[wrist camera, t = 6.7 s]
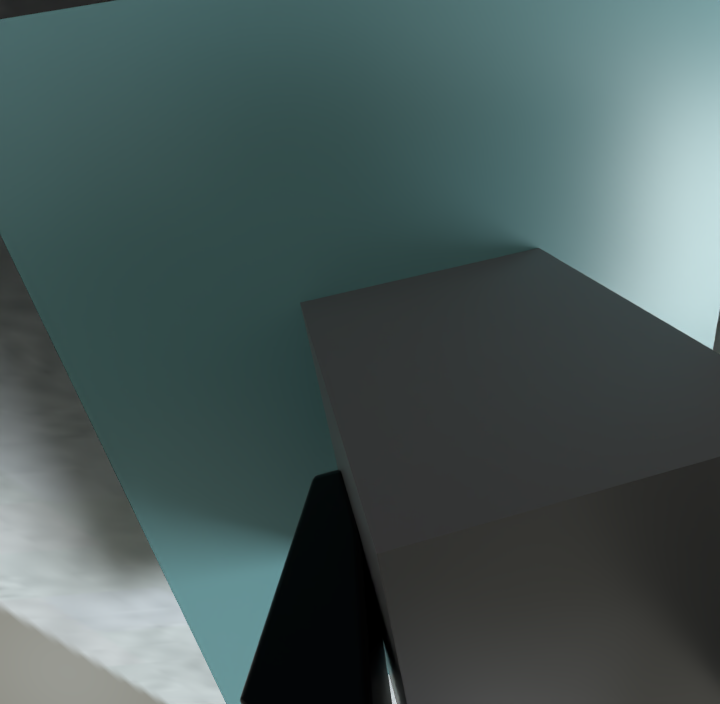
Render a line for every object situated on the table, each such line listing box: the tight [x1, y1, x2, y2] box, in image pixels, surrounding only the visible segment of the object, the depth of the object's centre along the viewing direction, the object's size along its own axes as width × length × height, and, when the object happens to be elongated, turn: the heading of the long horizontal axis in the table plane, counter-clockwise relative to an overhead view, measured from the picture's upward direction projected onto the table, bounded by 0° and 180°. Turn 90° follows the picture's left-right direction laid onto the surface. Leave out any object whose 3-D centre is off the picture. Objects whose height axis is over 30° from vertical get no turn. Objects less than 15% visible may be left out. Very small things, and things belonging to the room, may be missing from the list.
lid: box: [0, 0, 720, 704], centre depth 8 cm, size 12×10×6 cm
